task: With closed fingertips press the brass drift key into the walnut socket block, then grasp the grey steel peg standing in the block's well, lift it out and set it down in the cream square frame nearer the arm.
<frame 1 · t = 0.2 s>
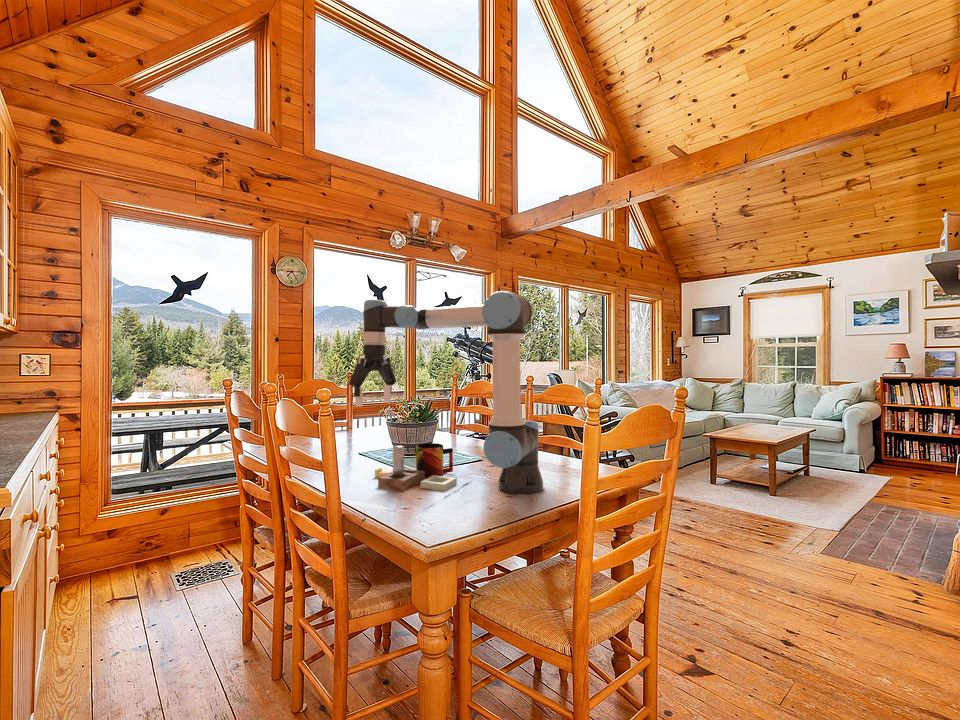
hand: (373, 404, 172), 27 cm above the table, fingers open, 13 cm apart
peg: (398, 484, 164), point 1 cm above the table, touching socket block
socket block: (402, 485, 166), on the table
mug: (432, 477, 178), on the table
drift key: (388, 475, 173), point 2 cm above the table, slide at 0.0 cm
cream square frame: (438, 488, 163), on the table
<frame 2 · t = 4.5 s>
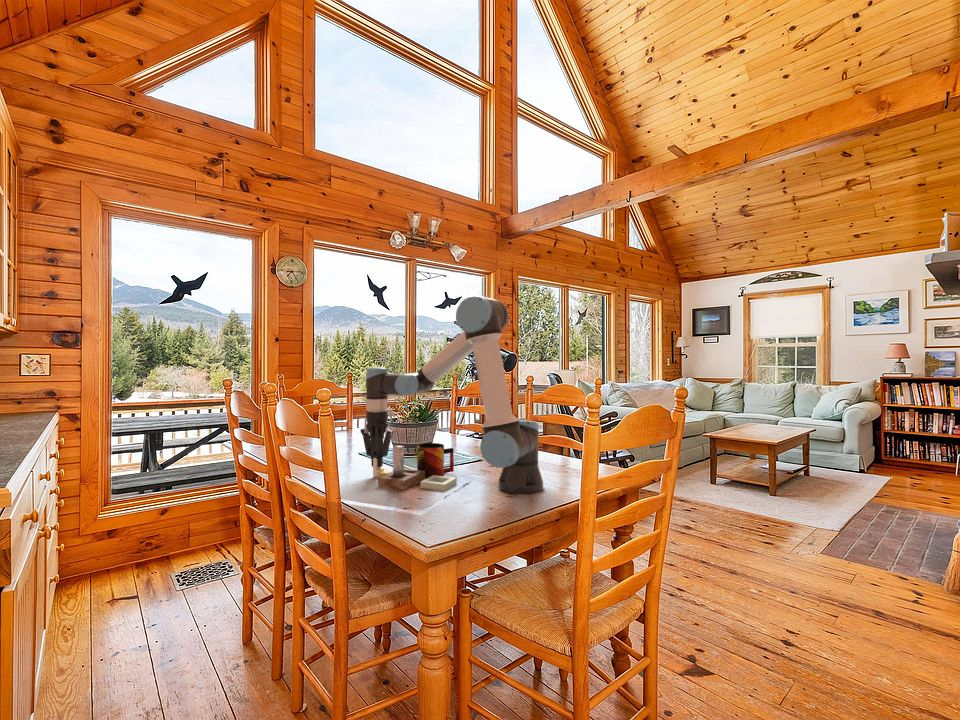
hand: (377, 475, 175), 1 cm above the table, fingers closed
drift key: (390, 475, 173), point 2 cm above the table, slide at 0.7 cm, touching gripper
everything else where it was.
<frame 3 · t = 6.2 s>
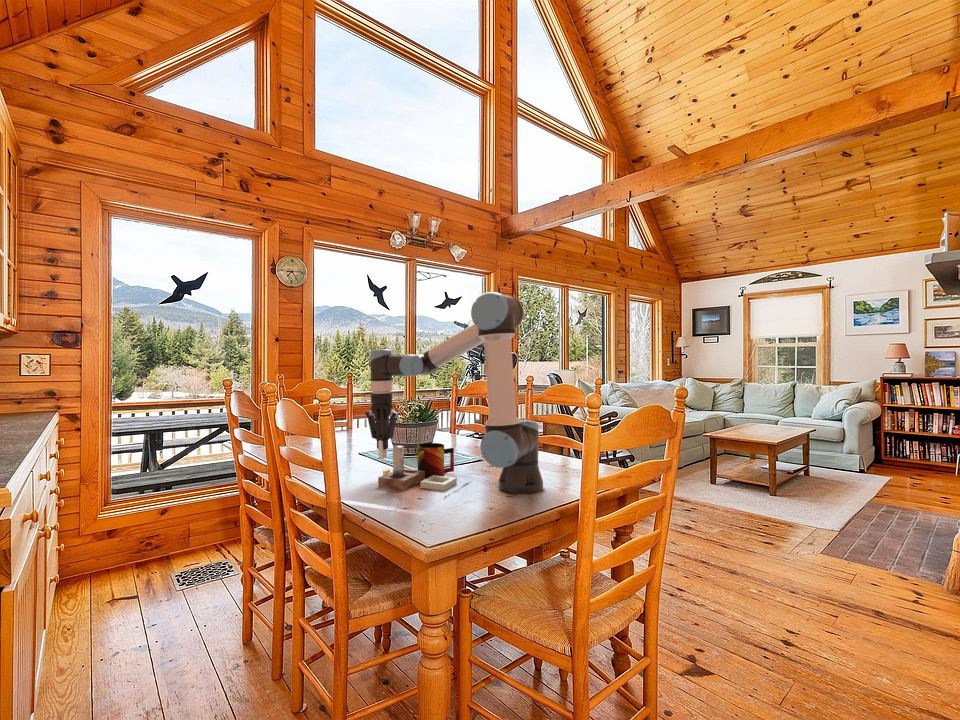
hand: (382, 458, 174), 8 cm above the table, fingers closed
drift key: (397, 476, 172), point 2 cm above the table, slide at 3.5 cm
everything else where it was.
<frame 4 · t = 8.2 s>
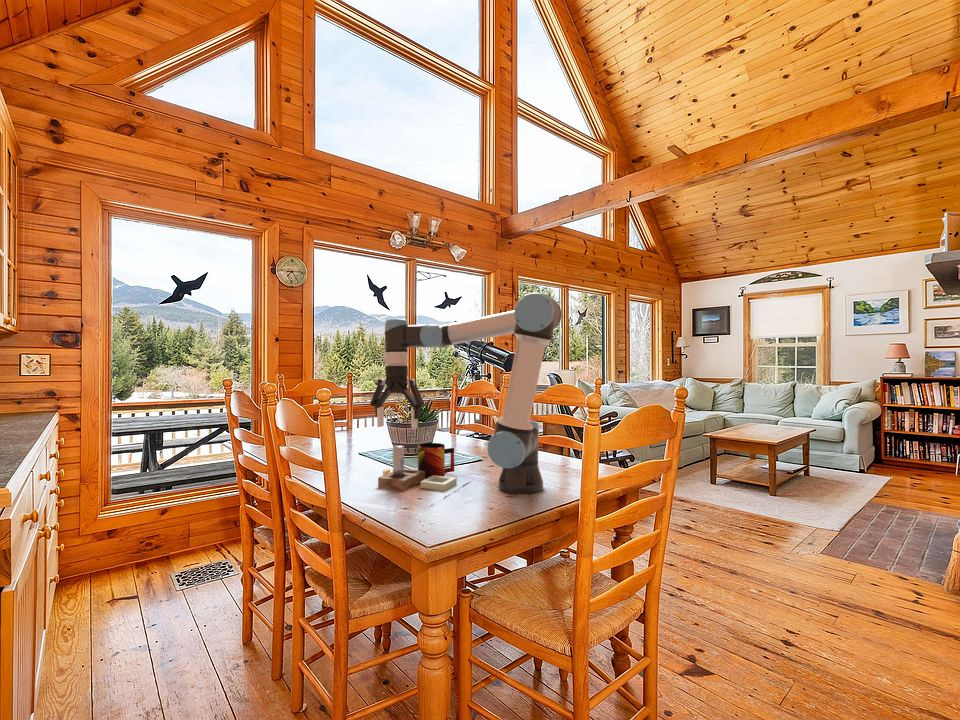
hand: (397, 427, 165), 20 cm above the table, fingers open, 13 cm apart
nothing on the table moved.
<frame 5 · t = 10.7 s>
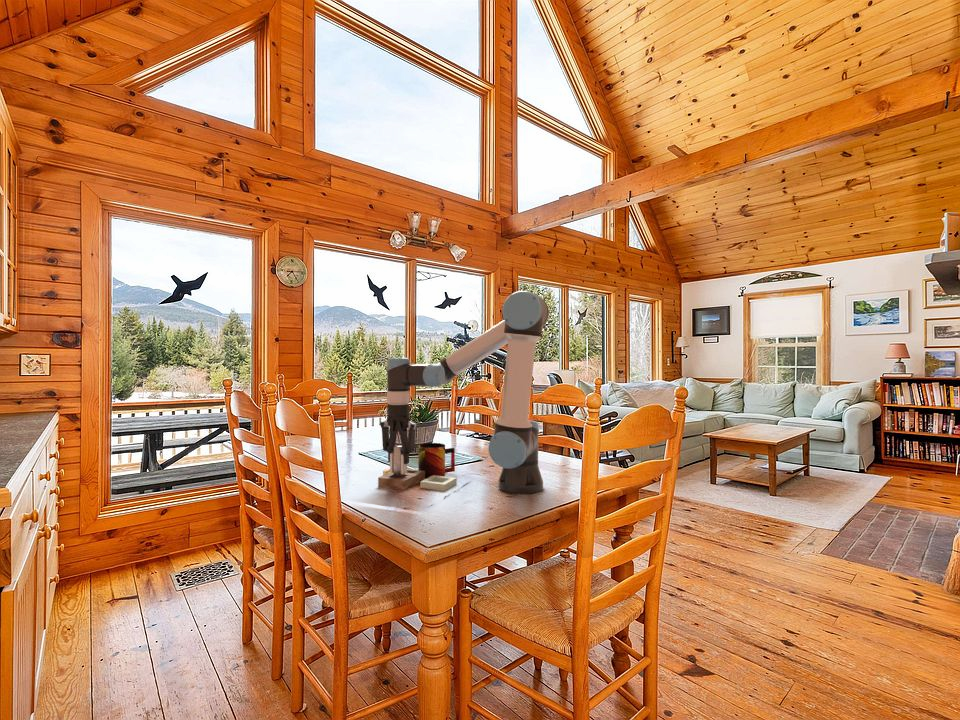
hand: (398, 472, 164), 5 cm above the table, fingers closed on peg, 3 cm apart
peg: (398, 484, 164), point 1 cm above the table, touching gripper
everything else where it was.
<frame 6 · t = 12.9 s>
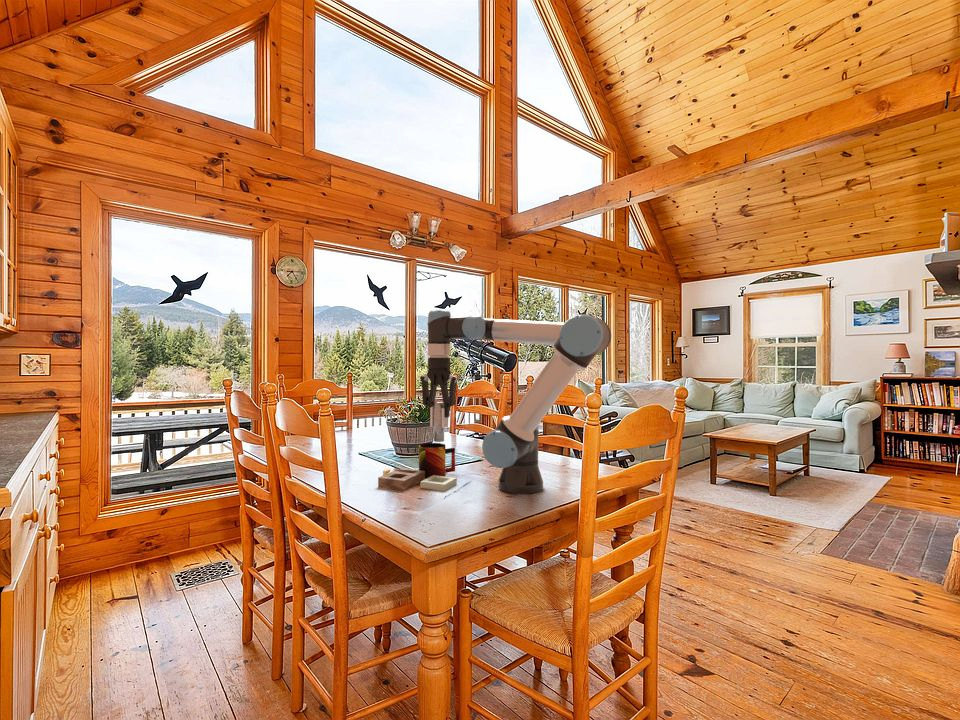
hand: (438, 426, 163), 21 cm above the table, fingers closed on peg, 3 cm apart
peg: (438, 440, 163), point 16 cm above the table, touching gripper
when the fingers open (7 cm above the table, at t = 15.5 s): peg drops 2 cm, resting on cream square frame.
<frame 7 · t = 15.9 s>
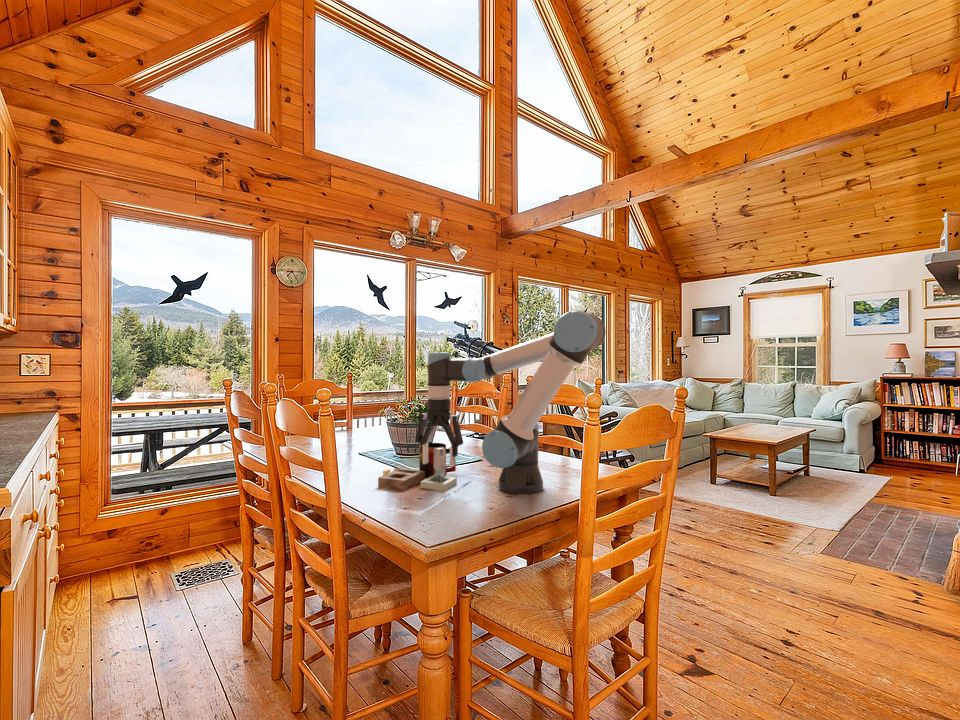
hand: (438, 464, 163), 8 cm above the table, fingers open, 9 cm apart
peg: (438, 487, 163), point 1 cm above the table, touching cream square frame
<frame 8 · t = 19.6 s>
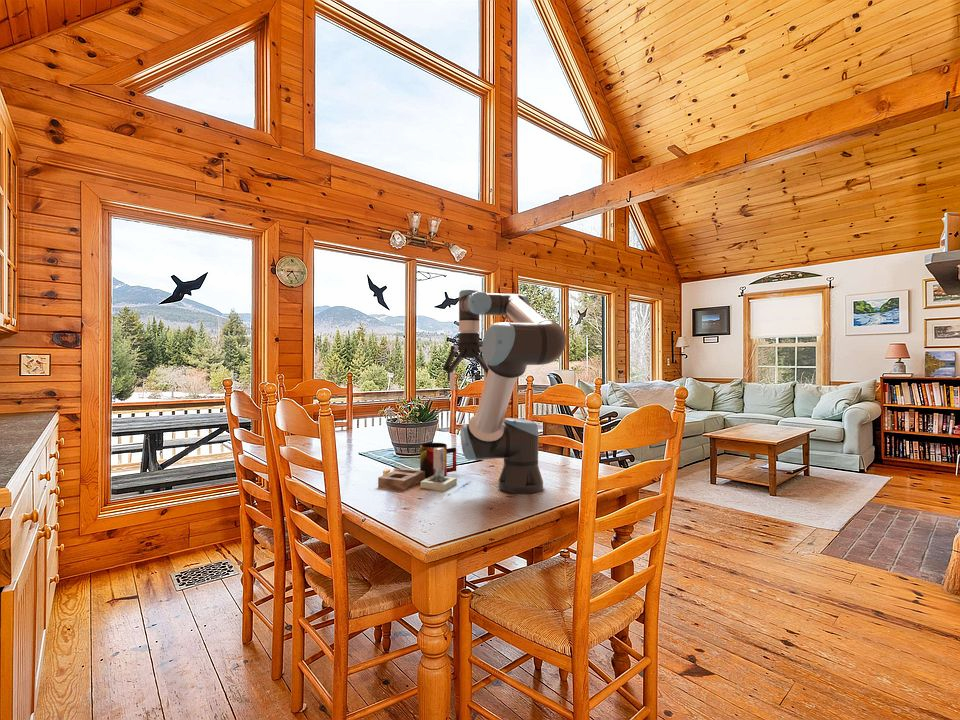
hand: (468, 390, 178), 32 cm above the table, fingers open, 13 cm apart
at the end: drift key slide at 3.5 cm; peg 0.1 cm off-centre on the cream square frame, point 0.5 cm above the cream square frame's base; peg tilted 1° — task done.
